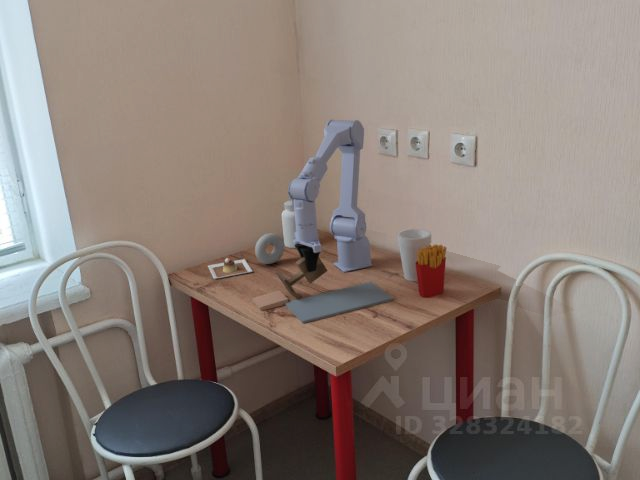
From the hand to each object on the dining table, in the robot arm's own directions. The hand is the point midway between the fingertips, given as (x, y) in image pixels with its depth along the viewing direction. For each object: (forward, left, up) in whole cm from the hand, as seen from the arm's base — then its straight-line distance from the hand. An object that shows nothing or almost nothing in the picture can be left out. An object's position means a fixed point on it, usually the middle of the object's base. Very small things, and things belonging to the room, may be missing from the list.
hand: (310, 269), depth 180 cm
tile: (+8, 0, -6) cm, 10 cm away
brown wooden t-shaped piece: (+1, 0, -4) cm, 4 cm away
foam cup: (-30, +6, -7) cm, 31 cm away
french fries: (-28, +18, -7) cm, 34 cm away
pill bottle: (-11, -40, -7) cm, 42 cm away
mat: (-4, +10, -7) cm, 13 cm away
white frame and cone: (+15, -30, -8) cm, 35 cm away
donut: (+2, -28, -7) cm, 29 cm away
